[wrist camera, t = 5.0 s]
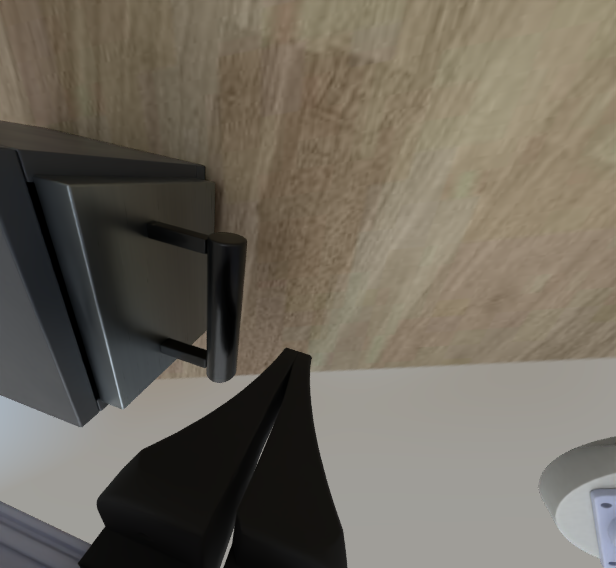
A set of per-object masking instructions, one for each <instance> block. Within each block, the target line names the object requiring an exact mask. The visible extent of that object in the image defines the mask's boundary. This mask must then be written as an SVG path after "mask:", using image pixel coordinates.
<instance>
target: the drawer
mask: <svg viewBox="0 0 616 568" xmlns="http://www.w3.org/2000/svg"><path fill="white" fill-rule="evenodd" d="M33 180H34V182H26V184H27V187H28V190H29V193H30V197H31V200H32V203H33V206H34V209H35V212H36V215H37V218H38V222H39V225H40V228H41V231H42V234H43V237H44V240H45V243H46V247H47V250H48V253H49V256H50V259H51V262H52V265H53V268H54V272H55V275H56V278H57V281H58V284H59V287H60V290H61V293H62V297H63V300H64V303H65V306H66V309H67V312H68V315H69V318H70V322H71V325H72V328H73V331H74V334H75V337H76V340H77V343H78V346H79V350H80V353H81V356H82V359H83V362H84V365H85V368H86V371H87V370H88V369H90V368H91V370H92V373H93V377H94V380H95V383H96V387H97V390H98V393H99V396H100V400H101V401H102V402H105V403H107V404H110V405H112V406H115V407H118V408H120V409H124V408H126V407H127V406H128V405H129V404H130V403H131V402H132V401H133V400H134V399H135V398H136V397H137V396H138V395H139V394H140V393H141V392H142V391H143V390H144V389H146V388H147V387H148V386H149V385H150V384H151V383H152V382H153V381H154V380H155V379H156V378H157V377H158V376H159V375H160V374H161V373H162V372H163V371H164V370H165V369H167V368H168V367H169V366H170V365H171V364H172V363H173V362H174V361H175V360H176V359H180V360H183V361H186V362H189V363H192V364H194V365H197V366H200V367H203V368H206V367H207V376H208V378H209V379H210V380H212V381H213V382H217V383H222V382H226V381H228V380H230V379H231V378H233V376H234V375H235V373H236V369H237V357H238V345H239V333H240V321H241V310H242V298H243V286H244V274H245V263H246V251H247V240H246V238H244V237H243V236H240V235H237V234H233V233H227V232H218V233H214V217H215V183H214V182H212V181H208V180H203V179H199V178H192V177H120V176H47V175H35V176H33ZM206 330H207V350H204V349H201V348H198V347H195V346H192V344H193V343H194V342H195V341H196V340H197V339H198V338H199V337H200V336H201V335H202V334H203V333H204V332H205V331H206Z"/></svg>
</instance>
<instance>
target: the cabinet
mask: <svg viewBox="0 0 616 568" xmlns="http://www.w3.org/2000/svg"><path fill="white" fill-rule="evenodd" d="M35 175H47V176H120V177H192V178H199V179H203V180H205V167H204V166H203V165H200V164H195V163H191V162H187V161H183V160H179V159H174V158H170V157H166V156H162V155H157V154H153V153H149V152H145V151H141V150H136V149H132V148H128V147H124V146H120V145H115V144H111V143H107V142H103V141H98V140H94V139H90V138H86V137H82V136H77V135H73V134H69V133H65V132H61V131H56V130H52V129H48V128H43V127H36V126H30V125H24V124H18V123H12V122H6V121H0V395H2V396H4V397H7V398H9V399H12V400H14V401H17V402H19V403H21V404H24V405H26V406H29V407H31V408H34V409H36V410H39V411H41V412H44V413H46V414H49V415H51V416H54V417H56V418H58V419H61V420H64V421H66V422H68V423H71V424H74V425H76V426H78V427H83V426H84V425H85V424H86V423H87V422H89V421H90V420H91V419H92V418H93V417H94V416H95V415H97V414H98V413H99V411H101V410H103V409H104V408H105V407H106V406H107V405H108V404H107V403H105V402H102V401H101V400H100V396H99V393H98V390H97V387H96V383H95V380H94V377H93V373H92V370H91V368H90V369H88V370H87V371H86V368H85V365H84V362H83V359H82V356H81V353H80V350H79V346H78V343H77V340H76V337H75V334H74V331H73V328H72V325H71V322H70V318H69V315H68V312H67V309H66V306H65V303H64V300H63V297H62V293H61V290H60V287H59V284H58V281H57V278H56V275H55V272H54V268H53V265H52V262H51V259H50V256H49V253H48V250H47V247H46V243H45V240H44V237H43V234H42V231H41V228H40V225H39V222H38V218H37V215H36V212H35V209H34V206H33V203H32V200H31V197H30V193H29V190H28V187H27V184H26V182H34V180H33V176H35Z"/></svg>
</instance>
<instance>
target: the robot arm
mask: <svg viewBox="0 0 616 568" xmlns="http://www.w3.org/2000/svg"><path fill="white" fill-rule="evenodd" d="M311 359H312V357H311V356H310V355H308V354H305V353H302V352H299V351H295V350H292V349H289V348H285V349H284V350H283V352H282V353H281V354H280V355H279V356H278V358H277V359H276V360H275V361H274V362H273V363H272V364H271V365H270V366H269V367H268V368H267V369H266V370H265V371H264V372H263V373H262V374H261V375H260V376H259V377H257V378H256V379H255V380H254V381H253V382H252V383H251V384H249V385H248V386H247V387H246V388H245V389H244V390H242V391H241V392H240V393H238V394H237V395H236V396H234V397H233V398H232V399H230V400H229V401H227V402H226V403H225V404H223V405H222V406H220V407H219V408H217V409H216V410H214V411H213V412H211V413H209V414H208V415H206V416H205V417H203V418H202V419H200V420H198V421H196V422H194V423H193V424H191V425H189V426H187V427H186V428H184V429H182V430H181V431H179V432H177V433H175V434H173V435H171V436H169V437H167V438H165V439H163V440H161V441H159V442H157V443H155V444H153V445H151V446H149V447H146V448H144V449H143V450H141V451H140V452H139V453H138V454H137V455H136V456H135V457H134V458H133V459H132V460H131V461H130V462H129V463H128V464H127V465H126V466H125V467H124V468H123V469H122V470H121V471H120V472H119V474H118V475H117V476H116V477H115V478H114V480H113V481H112V482H111V483H110V484H109V486H108V487H107V488H106V489H105V490H104V491H103V493H102V494H101V495H100V496H99V498H98V500H97V509H98V511H99V513H100V516H101V518H102V520H103V522H104V524H105V528H104V529H103V530H102V532H101V533H100V534H99V536H98V537H97V538H96V540H95V541H94V542H93V544H92V545H91V544H89V543H87V542H85V541H83V540H81V539H78V538H76V537H74V536H72V535H70V534H68V533H66V532H64V531H61V530H60V529H58V528H55V527H54V526H51V525H49V524H47V523H45V522H43V521H41V520H39V519H37V518H35V517H33V516H30V515H28V514H26V513H24V512H22V511H20V510H18V509H16V508H14V507H12V506H9V505H7V504H5V503H3V502H1V501H0V568H220V566H221V563H222V560H223V557H224V555H225V552H226V549H227V546H228V543H229V540H230V537H231V535H232V532H233V529H234V534H233V542H232V546H231V548H230V551H229V554H228V557H227V559H226V562H225V565H224V567H223V568H347V558H346V550H345V542H344V534H343V529H342V526H341V523H340V520H339V517H338V515H337V511H336V508H335V506H334V503H333V499H332V496H331V493H330V489H329V486H328V483H327V479H326V475H325V472H324V468H323V464H322V460H321V457H320V452H319V448H318V443H317V438H316V433H315V427H314V422H313V415H312V406H311V396H310V365H311ZM272 427H273V428H272ZM271 429H272V430H271ZM270 431H271V433H270ZM269 434H270V435H269ZM268 436H269V438H268ZM267 438H268V440H267ZM266 440H267V443H266V445H265V447H264V444H265V442H266ZM263 447H264V450H263V452H262V449H263ZM261 452H262V454H261ZM260 454H261V457H260V459H259V456H260ZM258 459H259V461H258ZM257 462H258V464H257ZM256 465H257V466H256ZM254 470H255V471H254ZM590 496H591V502H592V509H593V516H594V522H595V529H596V535H597V542H598V549H599V555H600V562H601V564H602V566H603V568H616V489H594V490H592V491H591V493H590ZM234 526H235V527H234Z"/></svg>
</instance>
